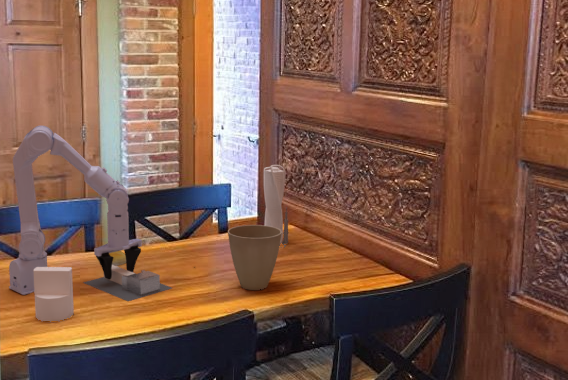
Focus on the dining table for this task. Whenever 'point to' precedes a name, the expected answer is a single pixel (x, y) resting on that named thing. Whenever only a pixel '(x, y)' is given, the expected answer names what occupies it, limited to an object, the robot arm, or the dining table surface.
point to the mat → (119, 289)
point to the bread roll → (118, 258)
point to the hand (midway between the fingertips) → (119, 275)
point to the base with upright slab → (53, 293)
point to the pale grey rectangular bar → (119, 274)
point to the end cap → (141, 283)
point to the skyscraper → (275, 200)
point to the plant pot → (254, 254)
